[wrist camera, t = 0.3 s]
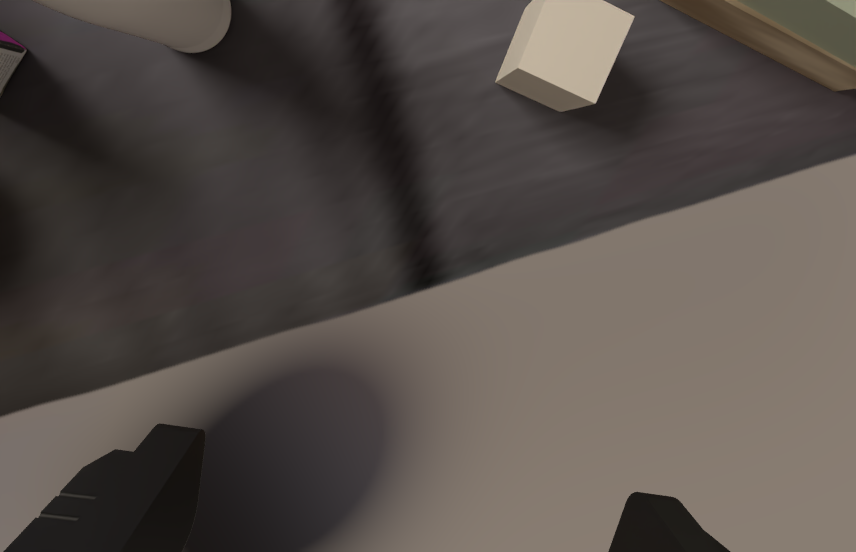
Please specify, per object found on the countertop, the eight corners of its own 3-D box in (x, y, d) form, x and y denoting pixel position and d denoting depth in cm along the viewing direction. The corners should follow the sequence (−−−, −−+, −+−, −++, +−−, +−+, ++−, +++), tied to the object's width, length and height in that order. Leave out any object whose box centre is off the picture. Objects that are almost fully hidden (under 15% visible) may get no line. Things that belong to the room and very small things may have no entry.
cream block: (525, 7, 33) (555, -24, 27) (591, 40, 34) (634, 16, 28) (494, 82, 34) (517, 67, 28) (560, 112, 35) (595, 103, 29)
